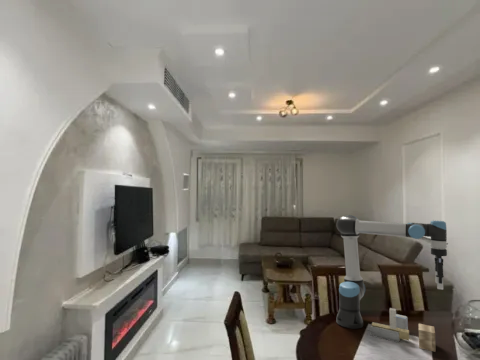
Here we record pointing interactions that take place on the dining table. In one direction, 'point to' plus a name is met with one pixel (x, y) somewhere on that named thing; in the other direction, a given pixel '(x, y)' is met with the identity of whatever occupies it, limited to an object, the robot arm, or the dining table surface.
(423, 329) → the socket block
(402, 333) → the tan slab piece
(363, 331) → the dining table surface
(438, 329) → the dining table surface
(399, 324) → the medicine box
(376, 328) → the guide channel
